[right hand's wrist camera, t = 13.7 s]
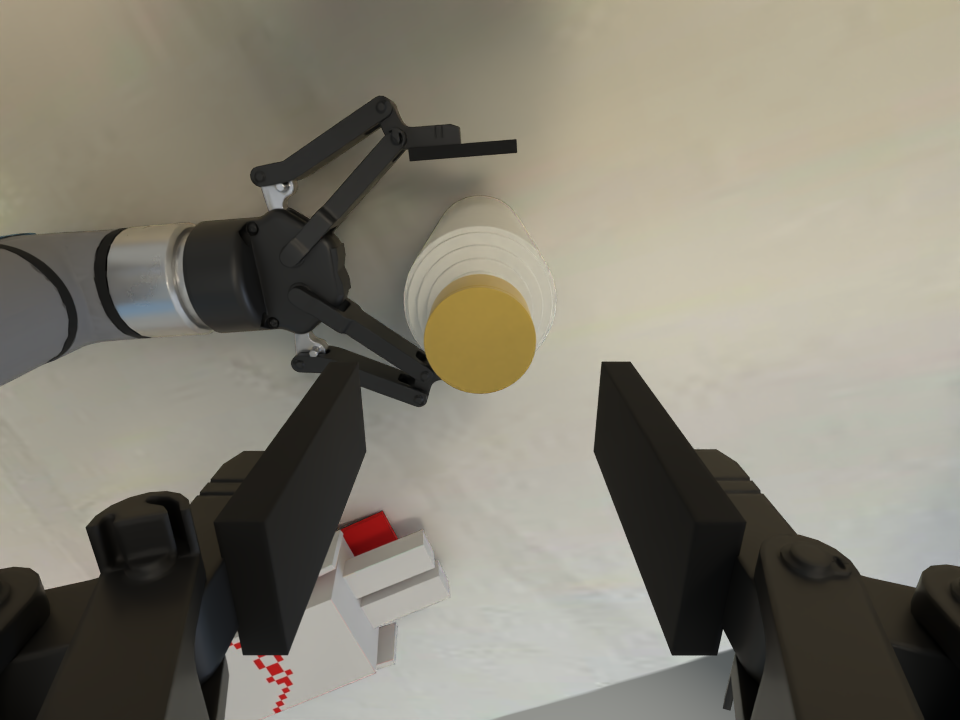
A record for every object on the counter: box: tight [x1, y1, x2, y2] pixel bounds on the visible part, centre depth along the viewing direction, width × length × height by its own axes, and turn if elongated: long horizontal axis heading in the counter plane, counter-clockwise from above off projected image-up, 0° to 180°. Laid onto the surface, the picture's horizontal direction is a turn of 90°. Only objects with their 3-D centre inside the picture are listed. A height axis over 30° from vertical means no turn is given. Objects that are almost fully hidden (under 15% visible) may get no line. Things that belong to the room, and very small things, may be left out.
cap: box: [424, 274, 536, 394], centre depth 20 cm, size 4×4×2 cm
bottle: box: [404, 196, 557, 351], centre depth 31 cm, size 7×7×23 cm
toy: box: [224, 511, 450, 720], centre depth 49 cm, size 12×13×30 cm
